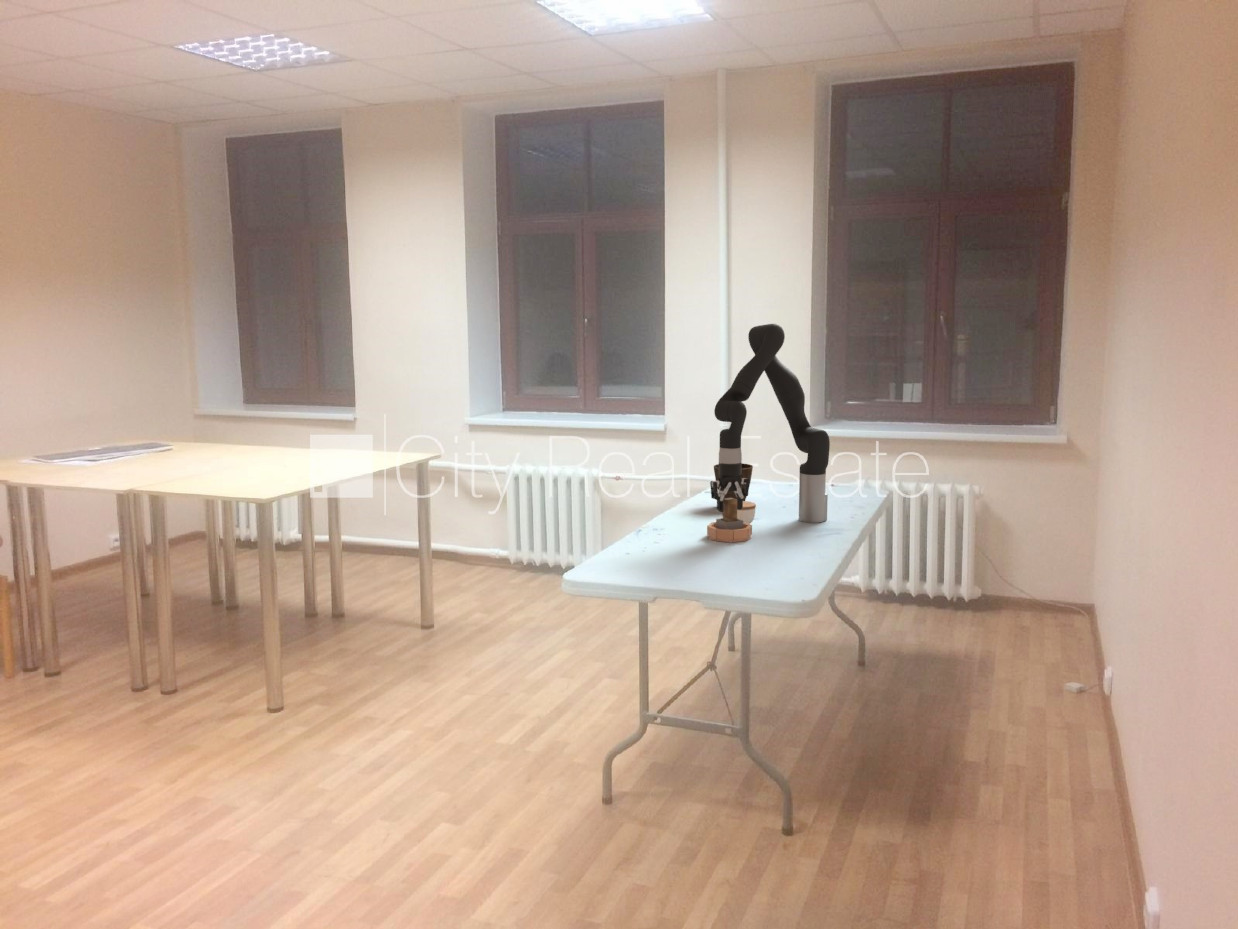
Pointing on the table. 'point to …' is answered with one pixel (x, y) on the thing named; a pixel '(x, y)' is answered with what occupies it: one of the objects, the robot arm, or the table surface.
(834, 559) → the table surface
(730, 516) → the brown long rectangular block
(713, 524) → the candle pot
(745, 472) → the plant pot
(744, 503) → the lidded jar
